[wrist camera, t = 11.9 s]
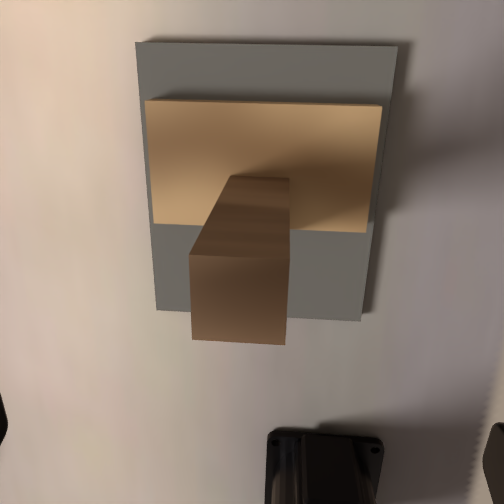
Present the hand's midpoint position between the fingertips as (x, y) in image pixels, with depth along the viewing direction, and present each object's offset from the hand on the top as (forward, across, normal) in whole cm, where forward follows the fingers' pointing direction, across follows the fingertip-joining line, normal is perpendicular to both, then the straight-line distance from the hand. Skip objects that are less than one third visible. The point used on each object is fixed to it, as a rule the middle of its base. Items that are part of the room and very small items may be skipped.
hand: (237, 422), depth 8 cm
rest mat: (+13, 0, -1) cm, 13 cm away
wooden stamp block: (+12, 0, -2) cm, 12 cm away
